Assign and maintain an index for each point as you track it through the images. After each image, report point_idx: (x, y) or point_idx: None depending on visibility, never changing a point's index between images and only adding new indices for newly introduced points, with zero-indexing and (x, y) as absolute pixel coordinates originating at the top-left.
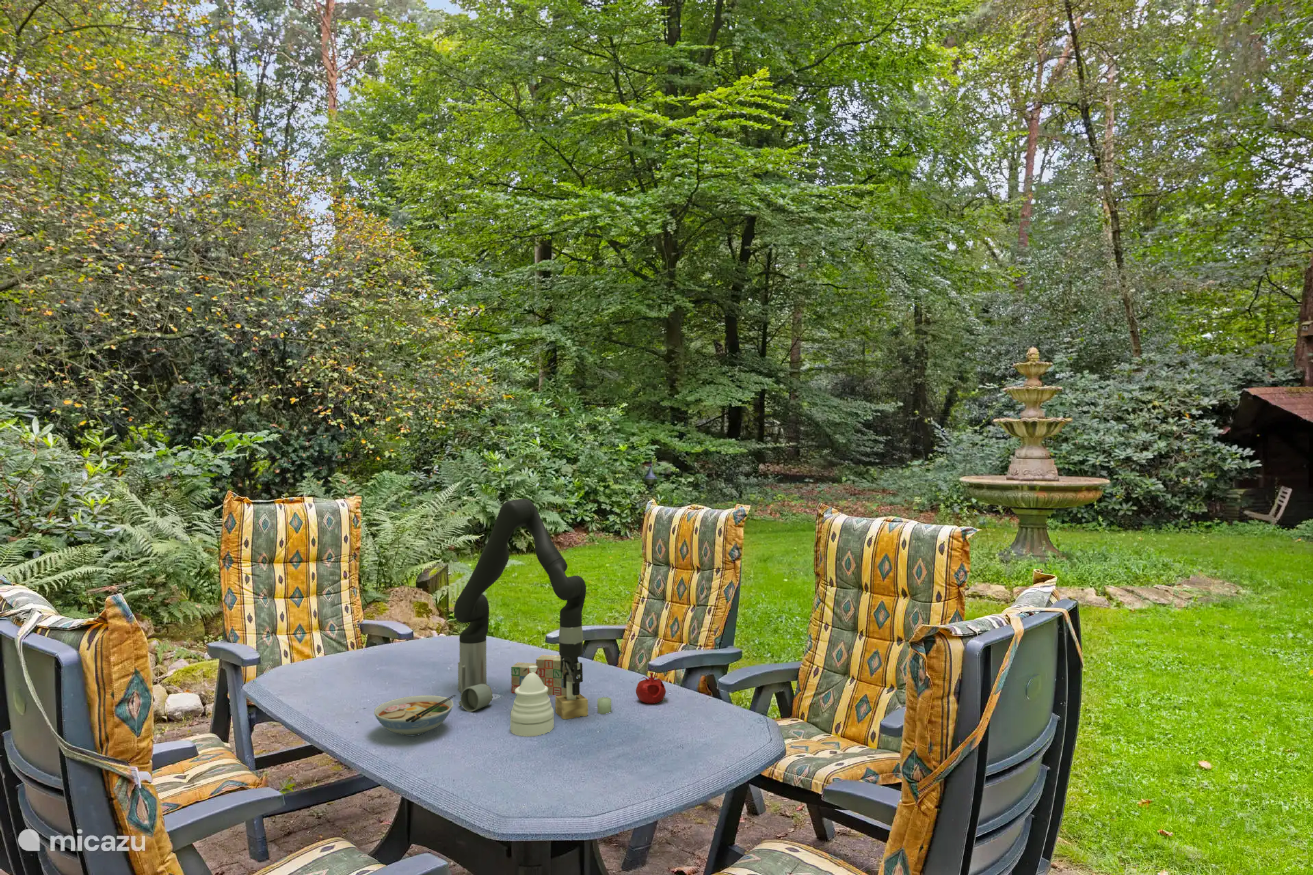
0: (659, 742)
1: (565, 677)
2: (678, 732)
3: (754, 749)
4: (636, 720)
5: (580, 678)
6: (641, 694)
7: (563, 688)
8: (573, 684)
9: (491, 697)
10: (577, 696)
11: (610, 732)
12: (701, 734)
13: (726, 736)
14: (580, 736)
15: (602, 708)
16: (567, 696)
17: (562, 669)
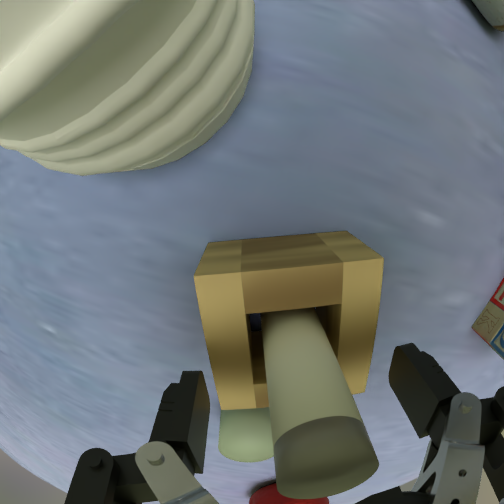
0: (6, 399)
1: (430, 405)
2: (57, 448)
3: (15, 456)
4: (134, 441)
5: (115, 500)
6: (270, 500)
7: (501, 320)
8: (169, 437)
9: (500, 18)
10: None
11: (41, 354)
12: (53, 460)
13: (50, 469)
14: (13, 257)
15: (223, 417)
16: (289, 332)
17: (469, 449)
